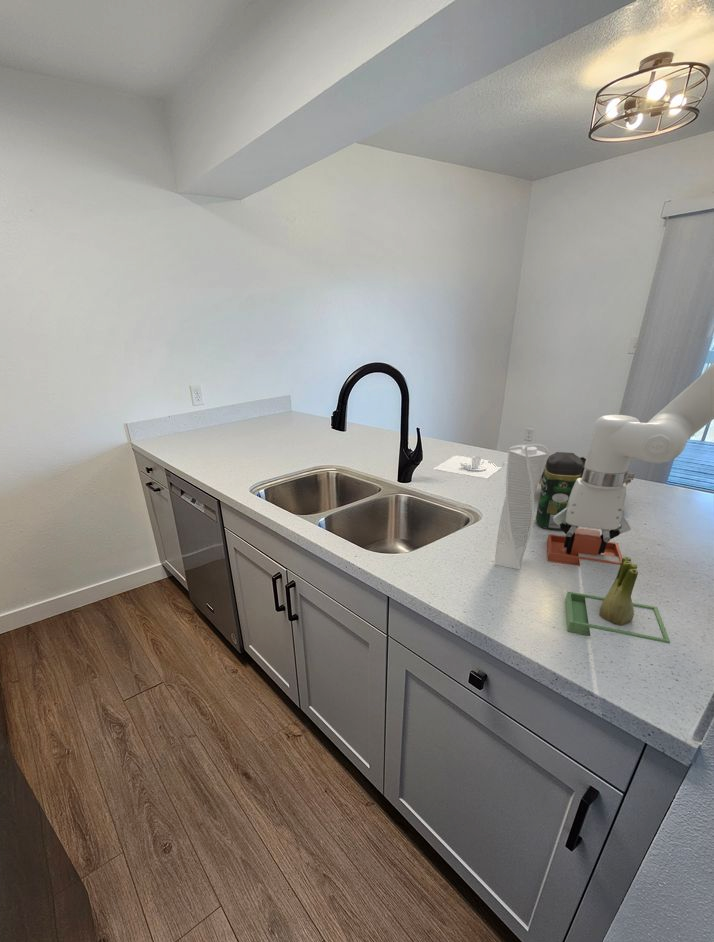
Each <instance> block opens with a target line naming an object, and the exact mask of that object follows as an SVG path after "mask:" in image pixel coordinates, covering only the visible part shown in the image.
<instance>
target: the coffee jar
mask: <svg viewBox="0 0 714 942" xmlns="http://www.w3.org/2000/svg"><path fill="white" fill-rule="evenodd" d="M580 458H581V457H580V456H578V455H576V454H575V453H574V452H564V451H556V452H555V453H553V454H549V456H548V460H547V463H546V467H545V472H544V477H543V482H542V487H541V486H540V487H541V488H540V492H539V498H538V503H537V509H536V514H535V522H536V524H537V526H539V527H541V528H543V529H547V530H551V531H552V530H553V531H559V530H561V531H562V529H561V528H560V527H559V526H558V525H557V524H556V523H555V522H554V521H553V517H554V516H555V515H557V514H558V513H559V512H561V511H562V510H563V509H565V508H566V507H567V503H568V500H569V497H570V494H571V491H572V488H573V486H574V484H575V482H576V480H577V479H578V478H580V476H581V473H582V467H583V463H582V460H581V459H580ZM562 520H563V521H564V522H565V523H566V517H564V518H563V519H562ZM566 524H567V525H569V524H568V523H566Z"/></svg>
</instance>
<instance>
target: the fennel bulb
mask: <svg viewBox="0 0 714 942" xmlns="http://www.w3.org/2000/svg"><path fill="white" fill-rule="evenodd" d="M638 575H639V571H638V565H637V564H636V563H633V562H632V558H631V557H629V556H622V562H621V565H619V569H618V571H617V574H616V577H615V580H614V582H613V584H612V585H611V587H610V588H609V590H608V592H607V594H605V597H604V598H605V599H604V600H602V602H601V604H600V608H599V616H600V618H601V619H603V620H604V621H606V622H610V623H611V624H613V625H617V626H624V625H628V624H630V623H631V622H632V621H633V619H634V616H635V609H634V606H633V603H634V602H633V599H632V593H633V591H634V587H635V585H636V581H637V579H638Z"/></svg>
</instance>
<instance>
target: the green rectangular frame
mask: <svg viewBox="0 0 714 942" xmlns="http://www.w3.org/2000/svg"><path fill="white" fill-rule="evenodd" d="M565 595H566V596H565V598H564V602H565V603H564V604H565V615H566V628H567V632H569V633H570V632H571V633H575V634H580V635H585V636H589V637H590V636H591V631H590V628H592V629H597V630H601V631H606V632H611V633H616V634H622V635H627V636H632V637H636V638H641V639H647V640H652V641H656V642H662V643H665V644H666V643H667V644H670V643H671V640H670V638H669V635H668V633H667V630H666V627H665V624H664V622H663V620H662V617H661V614H660V612H659V609H658V607H657V606H653V605H648V604H642V603H638V602H637V603H636V602H632V603H633V607H637V608H641V609H642V608H643V609H649V610H653V613H654V617H655V619H656V621H657V624H658V627H659V630H660V632H661V635H662V637H658V636H654V635H648V634H643V633H638V632H633V631H628V630H624V629H623V630H622V629H618V628H612V627H607V626H602V625H597V624H594V623H593V624H592V623H589V617H588V610H587V609H588V608H587V602H586V599H591V600H599V601H603V600H604V599H605V597H603V596H597V595H590V594H586V593H579V592H574V591H566V594H565Z"/></svg>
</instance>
